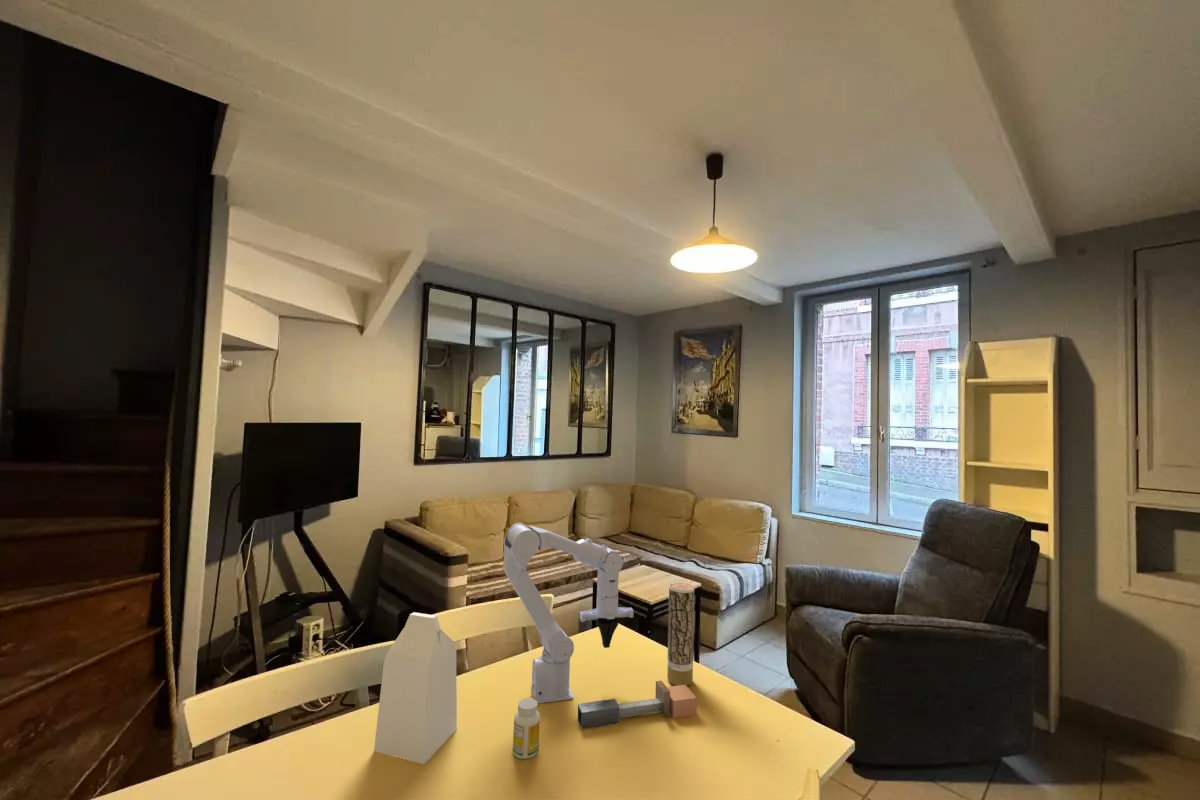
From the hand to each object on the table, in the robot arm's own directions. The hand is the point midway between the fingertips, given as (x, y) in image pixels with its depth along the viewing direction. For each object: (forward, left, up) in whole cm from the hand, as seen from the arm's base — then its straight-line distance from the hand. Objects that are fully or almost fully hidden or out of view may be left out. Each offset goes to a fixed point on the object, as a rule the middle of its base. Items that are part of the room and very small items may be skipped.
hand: (606, 646), depth 127 cm
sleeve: (-6, -16, -9) cm, 20 cm away
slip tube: (+4, -16, -9) cm, 19 cm away
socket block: (+14, -16, -9) cm, 23 cm away
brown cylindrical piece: (+20, -4, -10) cm, 23 cm away
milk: (-46, -13, -10) cm, 49 cm away
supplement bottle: (-24, -22, -10) cm, 34 cm away
